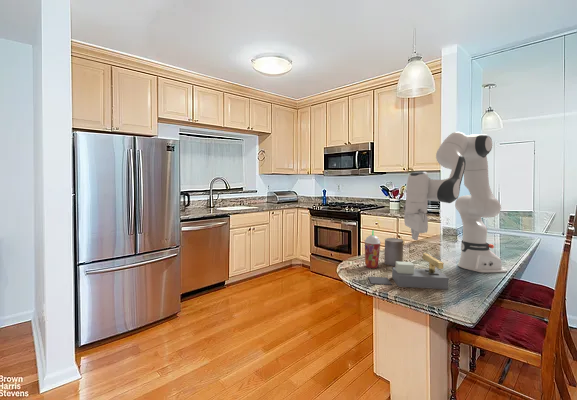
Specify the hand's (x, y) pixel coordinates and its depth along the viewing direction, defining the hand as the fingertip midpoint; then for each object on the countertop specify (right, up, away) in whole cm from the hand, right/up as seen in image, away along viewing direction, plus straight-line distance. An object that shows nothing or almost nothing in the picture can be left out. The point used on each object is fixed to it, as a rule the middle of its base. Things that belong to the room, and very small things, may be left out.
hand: (414, 239), depth 134 cm
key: (+9, -16, +3) cm, 18 cm away
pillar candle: (+2, -18, +35) cm, 39 cm away
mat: (-14, -20, +6) cm, 25 cm away
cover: (-3, -15, +5) cm, 16 cm away
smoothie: (-11, -19, +28) cm, 35 cm away
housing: (+4, -21, +4) cm, 21 cm away
